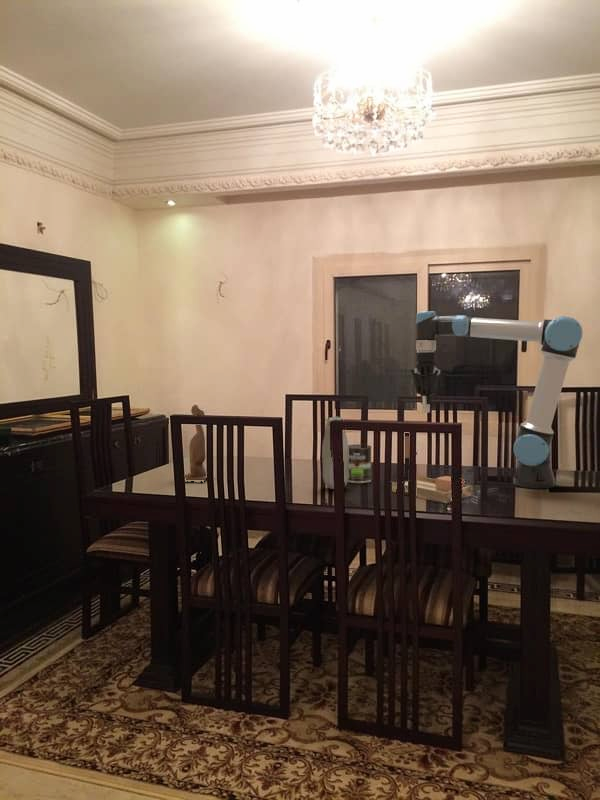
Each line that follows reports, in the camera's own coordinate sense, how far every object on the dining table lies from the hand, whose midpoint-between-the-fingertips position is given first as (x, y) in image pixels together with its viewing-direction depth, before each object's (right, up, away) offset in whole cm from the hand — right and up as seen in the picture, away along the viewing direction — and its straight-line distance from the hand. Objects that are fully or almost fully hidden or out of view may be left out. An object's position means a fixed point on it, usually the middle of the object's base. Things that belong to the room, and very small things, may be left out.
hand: (426, 412), depth 244 cm
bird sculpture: (-92, -29, +18) cm, 98 cm away
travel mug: (-4, -27, +17) cm, 32 cm away
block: (+5, -28, -15) cm, 32 cm away
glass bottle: (-35, -30, -2) cm, 46 cm away
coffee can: (-25, -28, +12) cm, 40 cm away
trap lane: (-1, -30, -12) cm, 32 cm away
